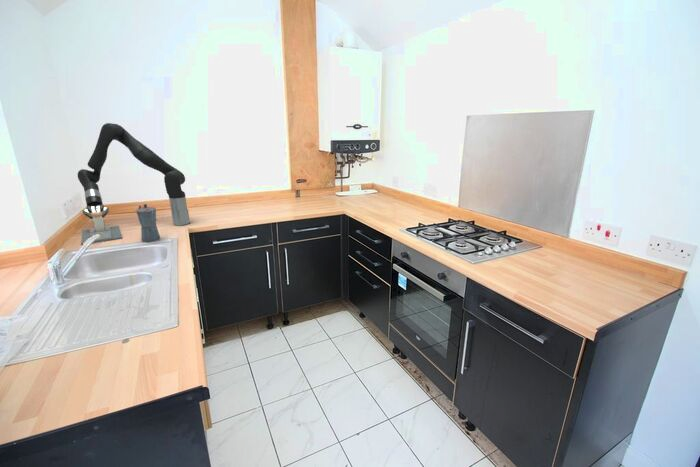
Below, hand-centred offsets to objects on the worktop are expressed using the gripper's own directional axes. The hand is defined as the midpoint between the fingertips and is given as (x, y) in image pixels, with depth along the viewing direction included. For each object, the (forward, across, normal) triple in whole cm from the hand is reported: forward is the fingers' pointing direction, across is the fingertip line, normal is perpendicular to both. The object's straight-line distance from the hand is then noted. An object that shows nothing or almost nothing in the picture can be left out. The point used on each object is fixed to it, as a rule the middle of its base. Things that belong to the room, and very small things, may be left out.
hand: (98, 223), depth 192 cm
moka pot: (+24, +21, -14) cm, 35 cm away
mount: (+10, 0, -2) cm, 11 cm away
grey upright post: (+9, 0, -1) cm, 9 cm away
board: (+6, 0, +3) cm, 7 cm away
